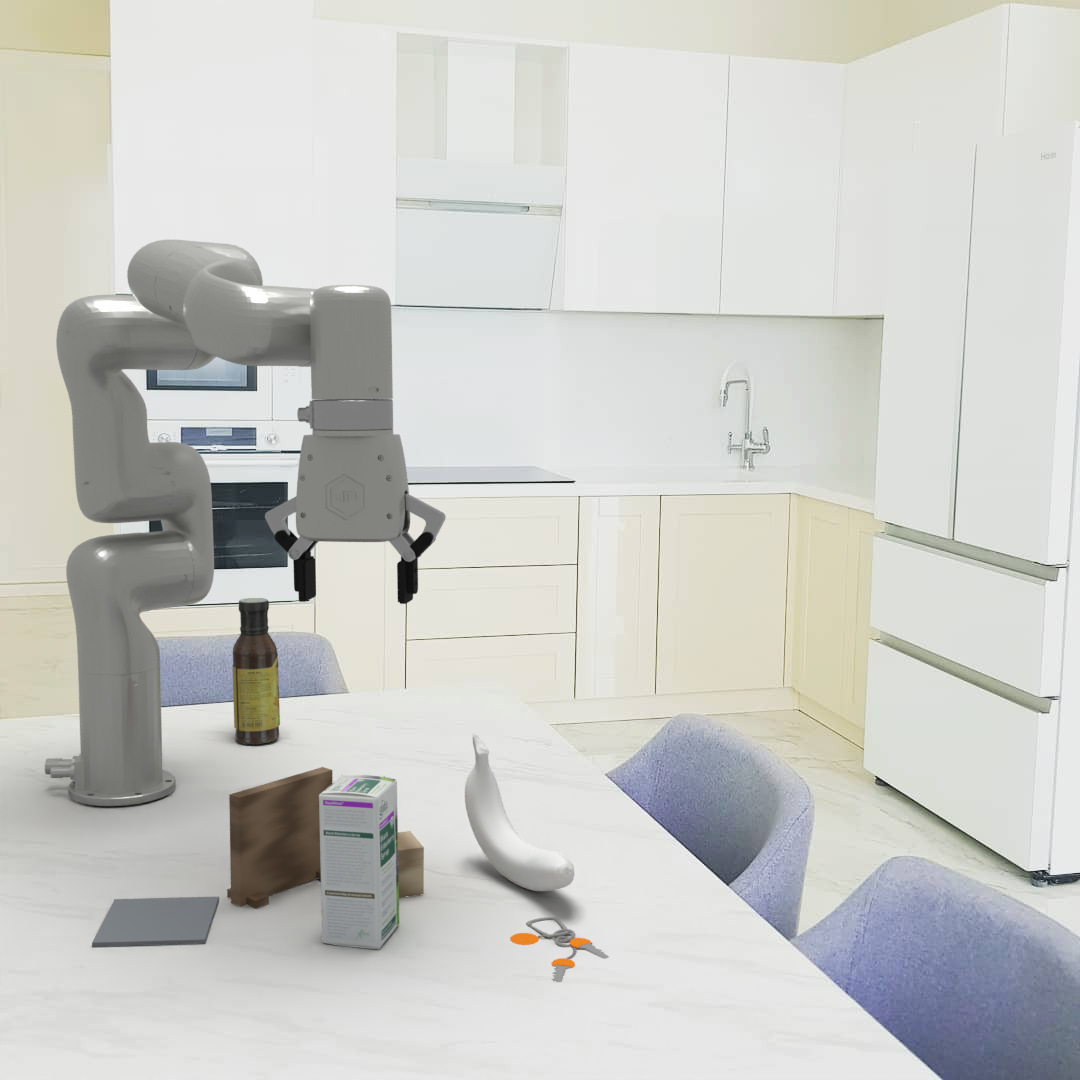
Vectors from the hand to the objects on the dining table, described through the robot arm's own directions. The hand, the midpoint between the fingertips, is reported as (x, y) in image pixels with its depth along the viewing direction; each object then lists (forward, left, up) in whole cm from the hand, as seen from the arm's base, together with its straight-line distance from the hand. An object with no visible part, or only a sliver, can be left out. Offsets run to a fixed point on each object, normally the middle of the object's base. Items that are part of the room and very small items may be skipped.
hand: (356, 600), depth 129 cm
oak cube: (+3, +4, -30) cm, 31 cm away
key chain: (+18, -11, -31) cm, 38 cm away
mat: (-19, -3, -30) cm, 36 cm away
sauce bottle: (-16, +59, -31) cm, 68 cm away
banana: (+16, +4, -31) cm, 35 cm away
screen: (-8, +5, -30) cm, 32 cm away
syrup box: (0, -7, -31) cm, 31 cm away
